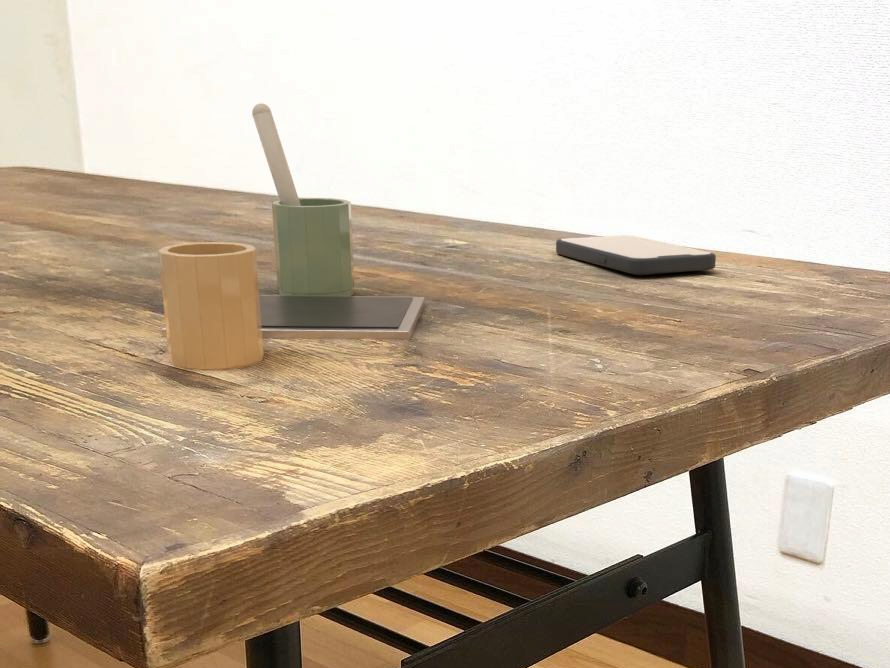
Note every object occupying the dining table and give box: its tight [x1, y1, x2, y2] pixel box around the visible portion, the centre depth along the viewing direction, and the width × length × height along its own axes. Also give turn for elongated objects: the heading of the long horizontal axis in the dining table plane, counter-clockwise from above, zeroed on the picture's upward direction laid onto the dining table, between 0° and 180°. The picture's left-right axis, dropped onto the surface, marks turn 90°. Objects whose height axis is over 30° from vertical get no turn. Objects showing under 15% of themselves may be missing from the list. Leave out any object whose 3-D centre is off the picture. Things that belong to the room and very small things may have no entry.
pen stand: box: [157, 241, 265, 371], centre depth 73 cm, size 5×6×7 cm
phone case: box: [555, 234, 717, 277], centre depth 112 cm, size 9×2×16 cm
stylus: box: [251, 103, 301, 206], centre depth 94 cm, size 1×1×14 cm
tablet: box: [161, 294, 426, 341], centre depth 85 cm, size 16×12×1 cm
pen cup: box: [271, 197, 355, 296], centre depth 95 cm, size 6×6×7 cm
